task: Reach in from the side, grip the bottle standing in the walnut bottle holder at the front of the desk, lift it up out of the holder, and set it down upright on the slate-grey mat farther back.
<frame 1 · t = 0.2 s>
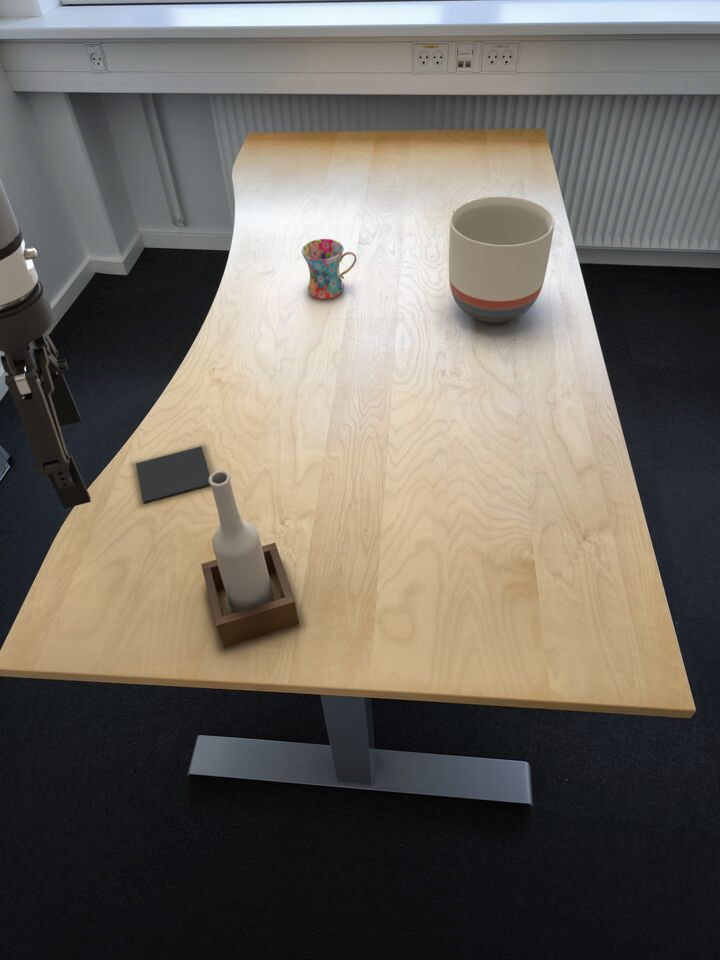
hand: (73, 460, 81), 37 cm above the table, tool pointing down, fingers open, 13 cm apart
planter: (492, 312, 160), on the table
mat: (173, 474, 130), on the table
mug: (332, 291, 169), on the table
bottle: (253, 606, 110), resting in holder
holder: (253, 605, 110), on the table
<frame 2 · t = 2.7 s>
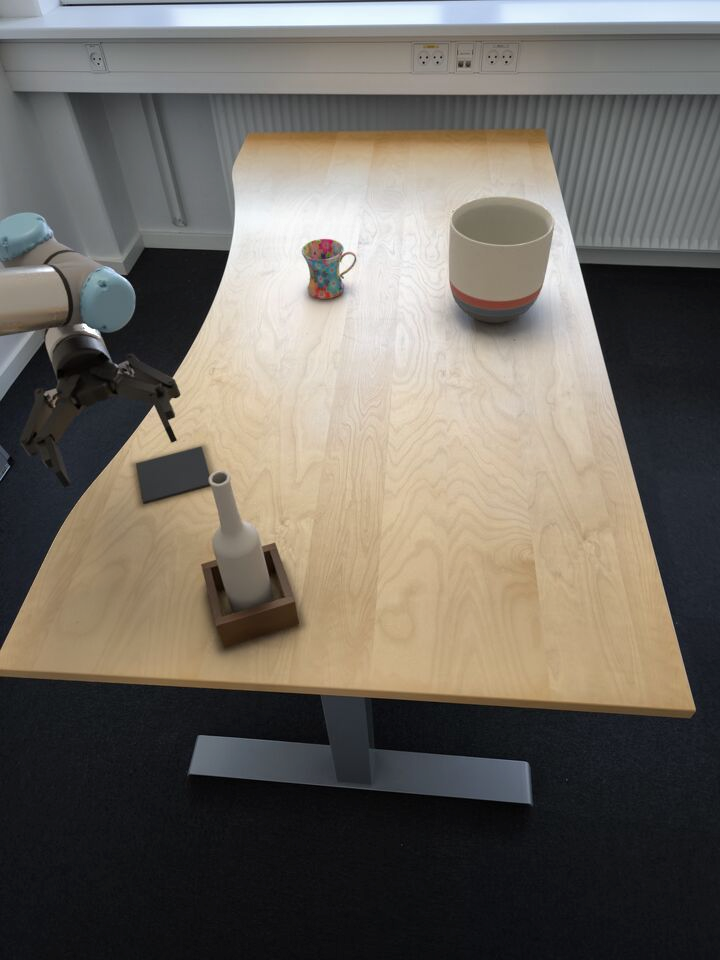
hand: (117, 456, 88), 32 cm above the table, tool horizontal, fingers open, 13 cm apart
nothing on the table moved.
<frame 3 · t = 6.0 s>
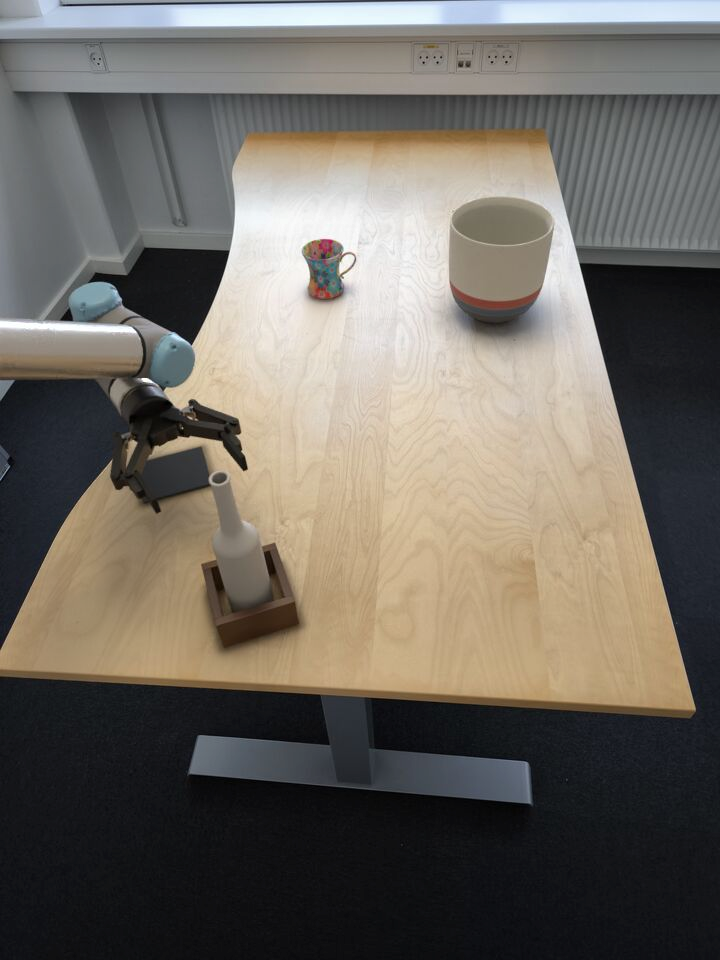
hand: (201, 484, 102), 19 cm above the table, tool horizontal, fingers open, 13 cm apart
nothing on the table moved.
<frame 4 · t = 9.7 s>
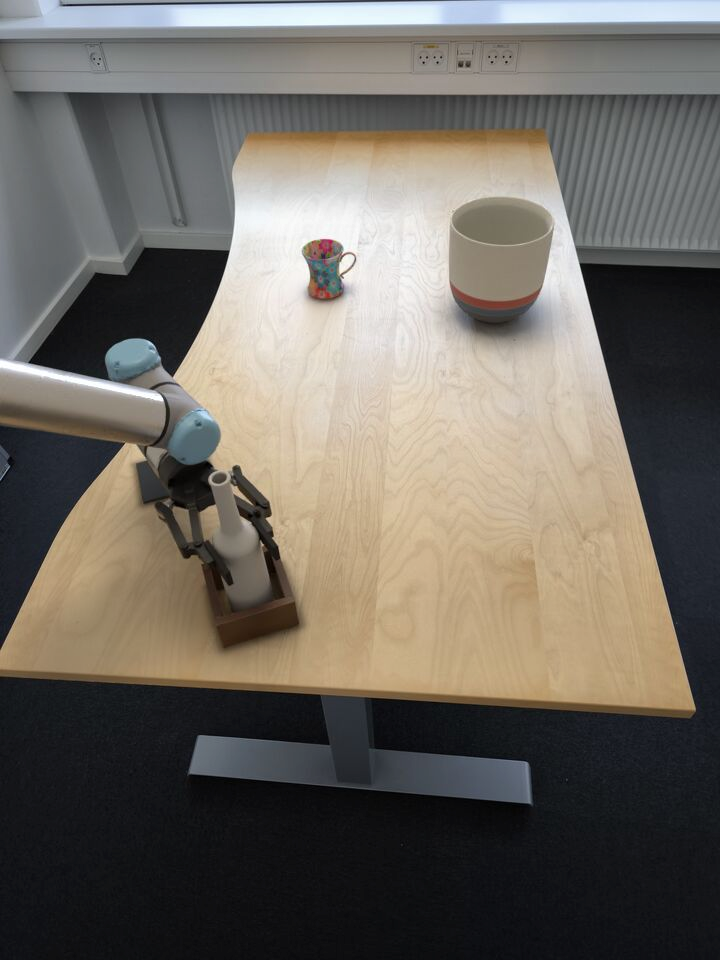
hand: (253, 566, 96), 15 cm above the table, tool horizontal, fingers closed on bottle, 6 cm apart
bottle: (253, 606, 110), resting in holder, touching gripper
everything else where it was.
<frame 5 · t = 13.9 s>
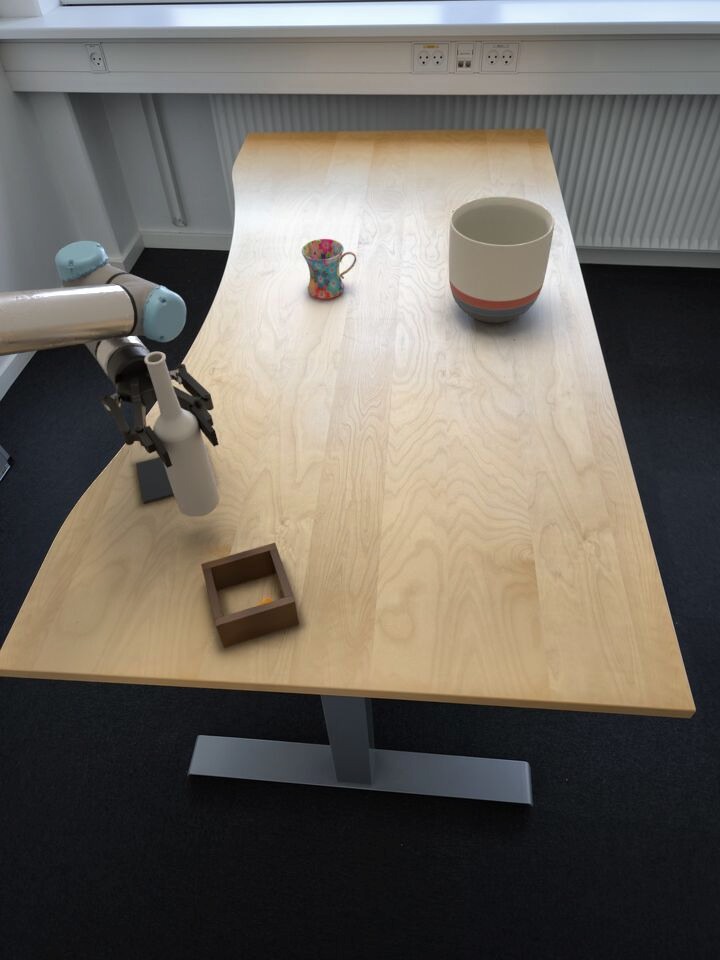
hand: (191, 448, 101), 23 cm above the table, tool horizontal, fingers closed on bottle, 6 cm apart
bottle: (199, 501, 115), point 8 cm above the table, touching gripper
everything else where it was.
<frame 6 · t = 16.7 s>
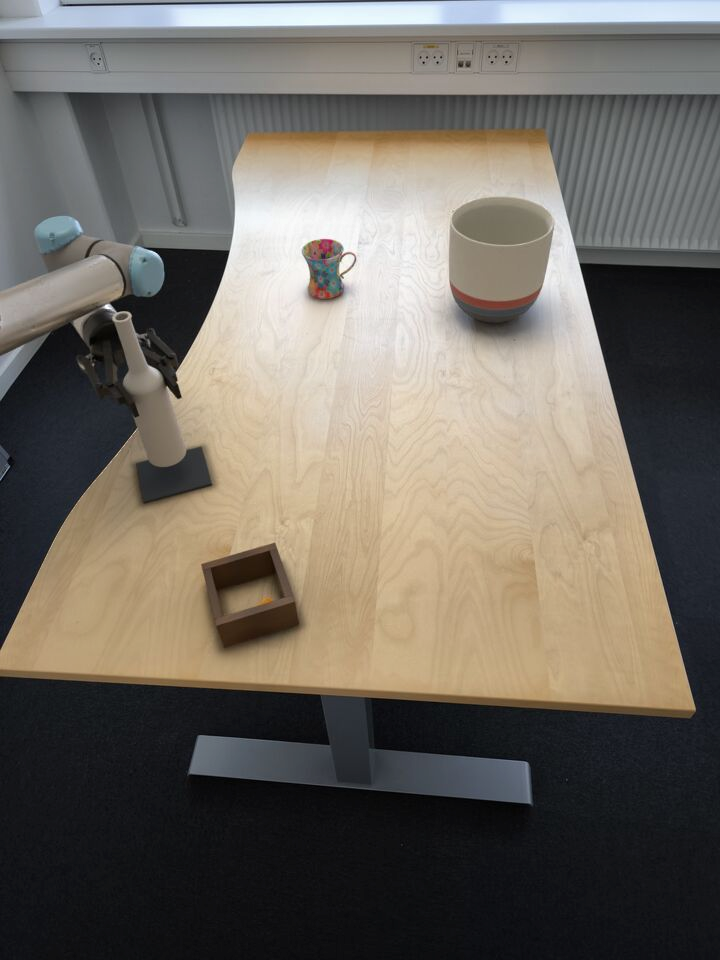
hand: (156, 400, 112), 21 cm above the table, tool horizontal, fingers closed on bottle, 6 cm apart
bottle: (167, 454, 126), point 5 cm above the table, touching gripper
everything else where it was.
when the fingers open (16 cm above the table, at t = 18.4 s): bottle stays where it is, resting on mat.
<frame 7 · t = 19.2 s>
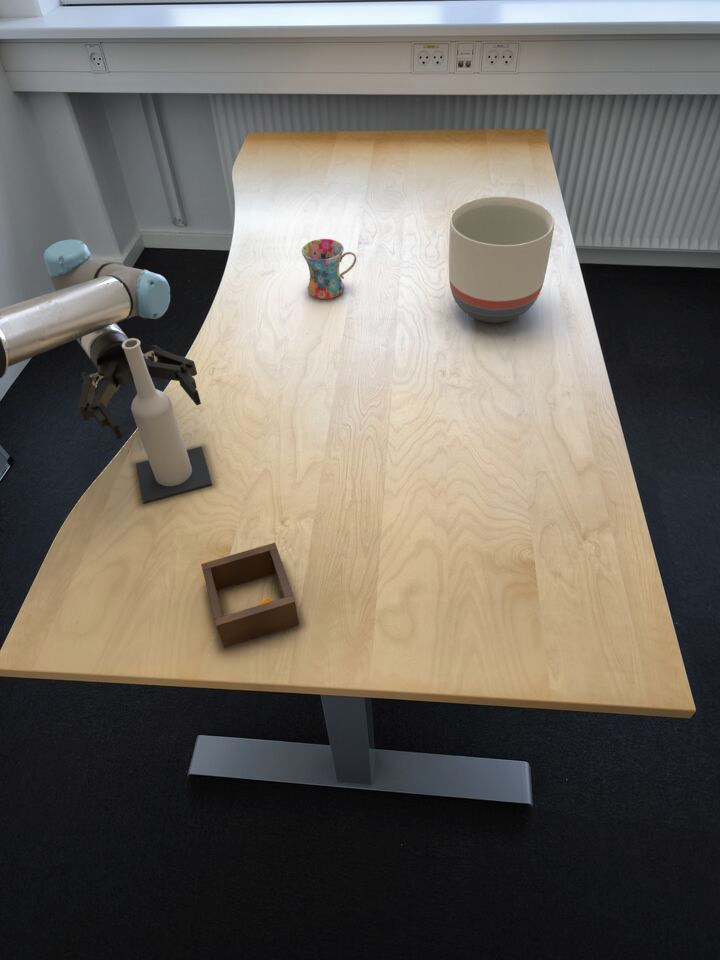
hand: (158, 415, 116), 16 cm above the table, tool horizontal, fingers open, 13 cm apart
bottle: (173, 473, 130), resting on mat
everything else where it was.
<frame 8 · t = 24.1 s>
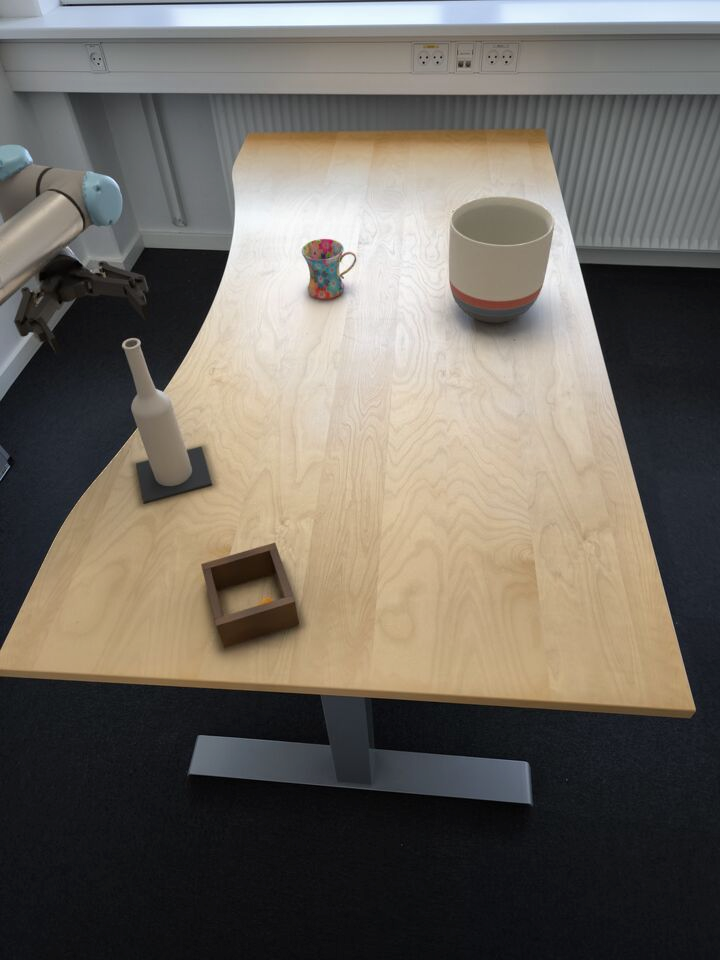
hand: (102, 329, 106), 32 cm above the table, tool horizontal, fingers open, 13 cm apart
nothing on the table moved.
at the end: bottle inside the target area on the mat (0.0 cm from its centre), point 0.3 cm above the mat's base; bottle tilted 0°; the gripper is holding nothing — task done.
